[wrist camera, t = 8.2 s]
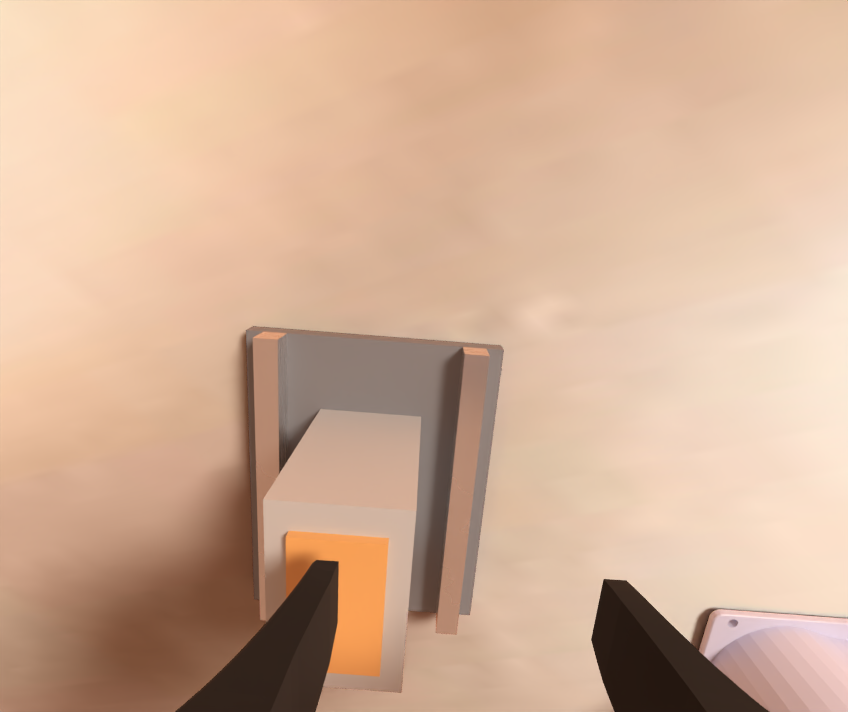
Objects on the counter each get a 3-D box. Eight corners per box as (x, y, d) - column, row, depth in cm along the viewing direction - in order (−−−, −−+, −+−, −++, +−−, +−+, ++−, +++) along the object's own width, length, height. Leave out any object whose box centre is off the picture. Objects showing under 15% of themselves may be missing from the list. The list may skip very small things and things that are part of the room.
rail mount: (501, 345, 20) (508, 357, 18) (468, 602, 23) (471, 635, 21) (253, 326, 20) (233, 336, 18) (259, 587, 23) (244, 618, 21)
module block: (421, 416, 20) (415, 517, 13) (410, 549, 22) (400, 701, 15) (320, 408, 20) (259, 505, 13) (318, 542, 22) (263, 692, 14)
